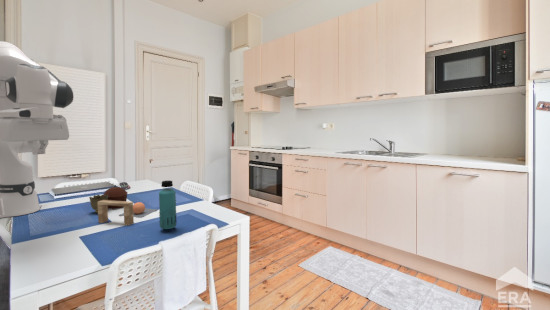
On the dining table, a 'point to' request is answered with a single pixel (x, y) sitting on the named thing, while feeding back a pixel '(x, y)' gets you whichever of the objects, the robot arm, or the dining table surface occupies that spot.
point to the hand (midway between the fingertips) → (39, 154)
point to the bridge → (104, 209)
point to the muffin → (116, 196)
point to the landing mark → (146, 212)
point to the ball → (138, 208)
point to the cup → (95, 199)
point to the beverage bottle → (167, 206)
